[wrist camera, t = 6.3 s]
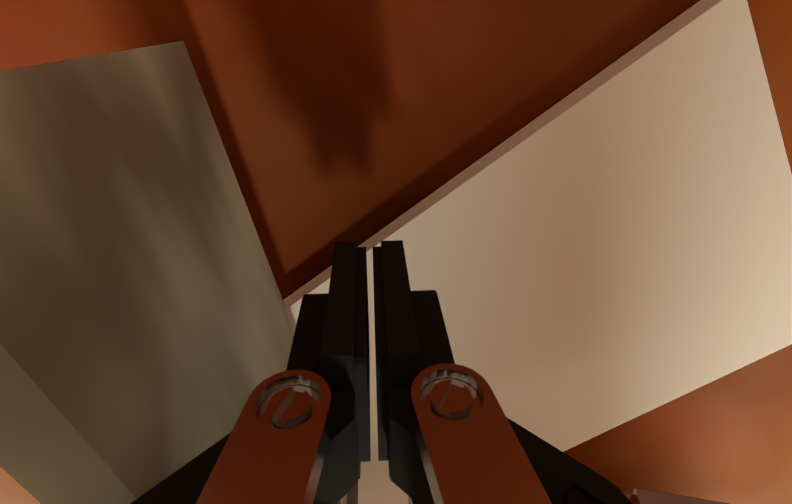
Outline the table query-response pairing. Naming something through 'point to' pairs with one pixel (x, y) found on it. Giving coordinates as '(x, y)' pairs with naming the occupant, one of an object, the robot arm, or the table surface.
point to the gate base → (611, 241)
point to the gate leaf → (124, 278)
